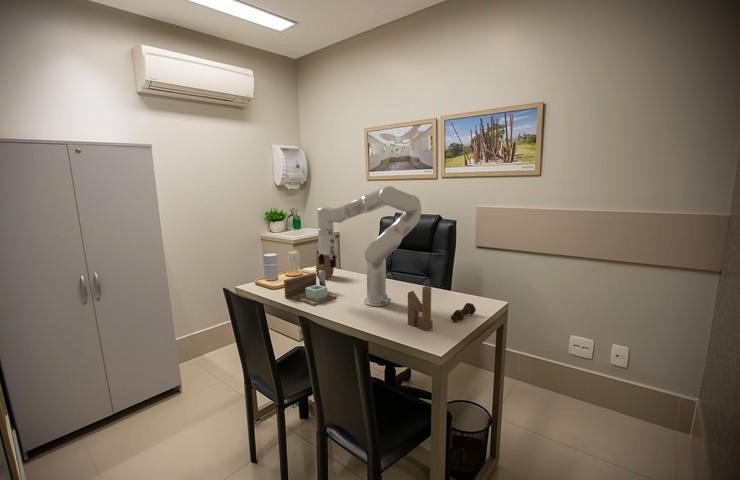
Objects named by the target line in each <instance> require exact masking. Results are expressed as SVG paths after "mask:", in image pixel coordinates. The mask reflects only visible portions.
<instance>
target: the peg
mask: <svg viewBox="0 0 740 480" xmlns="http://www.w3.org/2000/svg"><path fill="white" fill-rule="evenodd" d="M318 279H319V283H318V285H320V286H324V287H327V285H326V279H325V270H319V278H318Z"/></svg>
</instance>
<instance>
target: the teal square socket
mask: <svg viewBox="0 0 740 480" xmlns="http://www.w3.org/2000/svg"><path fill="white" fill-rule="evenodd" d="M305 290H306V296H307V297H310V298H313V299H317V300H318V299H321V298H324V297H327V293H328V287H327V286H326V287H324V286H320V285H319V284H316V285H314V286H310V287H307V288H305Z"/></svg>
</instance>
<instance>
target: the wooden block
mask: <svg viewBox="0 0 740 480" xmlns="http://www.w3.org/2000/svg"><path fill="white" fill-rule="evenodd" d="M421 293H422V294H421V297H422V300H421V301H420V299H419V297H418V296H417V294H416V293H415V291H414V290H412V291H408V292H407V325H409V324H410V325H409V326H411V327H415V326H416V327H417V328H418V329H421V330H423V329H424V331H426V330H427V332H428V330H429V331H430V329H431V330H433V327H434V326H433V320H431V319H432V287H431V286H429V285H428V286H427V285H425V286H422V292H421ZM420 313H421V316H420Z"/></svg>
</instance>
